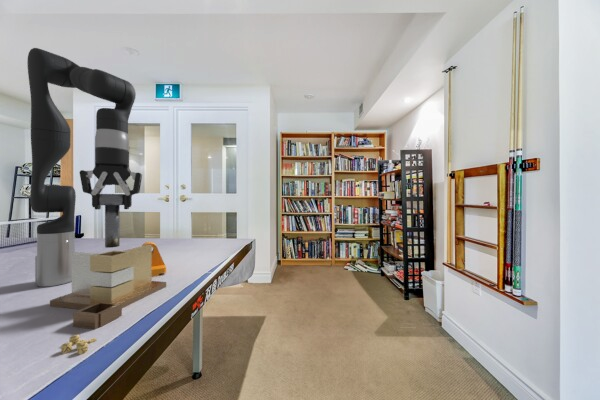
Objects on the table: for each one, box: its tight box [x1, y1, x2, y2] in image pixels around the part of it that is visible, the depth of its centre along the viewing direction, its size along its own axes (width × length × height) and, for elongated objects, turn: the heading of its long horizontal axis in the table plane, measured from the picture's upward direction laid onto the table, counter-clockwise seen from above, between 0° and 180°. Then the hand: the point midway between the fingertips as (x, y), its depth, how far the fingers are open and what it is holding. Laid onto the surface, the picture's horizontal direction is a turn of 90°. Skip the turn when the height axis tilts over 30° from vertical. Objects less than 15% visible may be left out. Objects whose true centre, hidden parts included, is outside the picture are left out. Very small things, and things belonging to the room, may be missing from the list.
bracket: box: [141, 241, 167, 278], centre depth 94 cm, size 11×7×12 cm, turn 125°
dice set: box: [60, 334, 97, 355], centre depth 48 cm, size 5×5×2 cm
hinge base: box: [49, 245, 167, 330], centre depth 70 cm, size 24×26×14 cm
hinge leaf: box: [71, 251, 134, 294], centre depth 69 cm, size 17×7×11 cm, turn 79°
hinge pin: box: [98, 193, 125, 249], centre depth 68 cm, size 6×6×14 cm
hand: (112, 209), depth 68 cm, fingers closed on hinge pin, 6 cm apart
